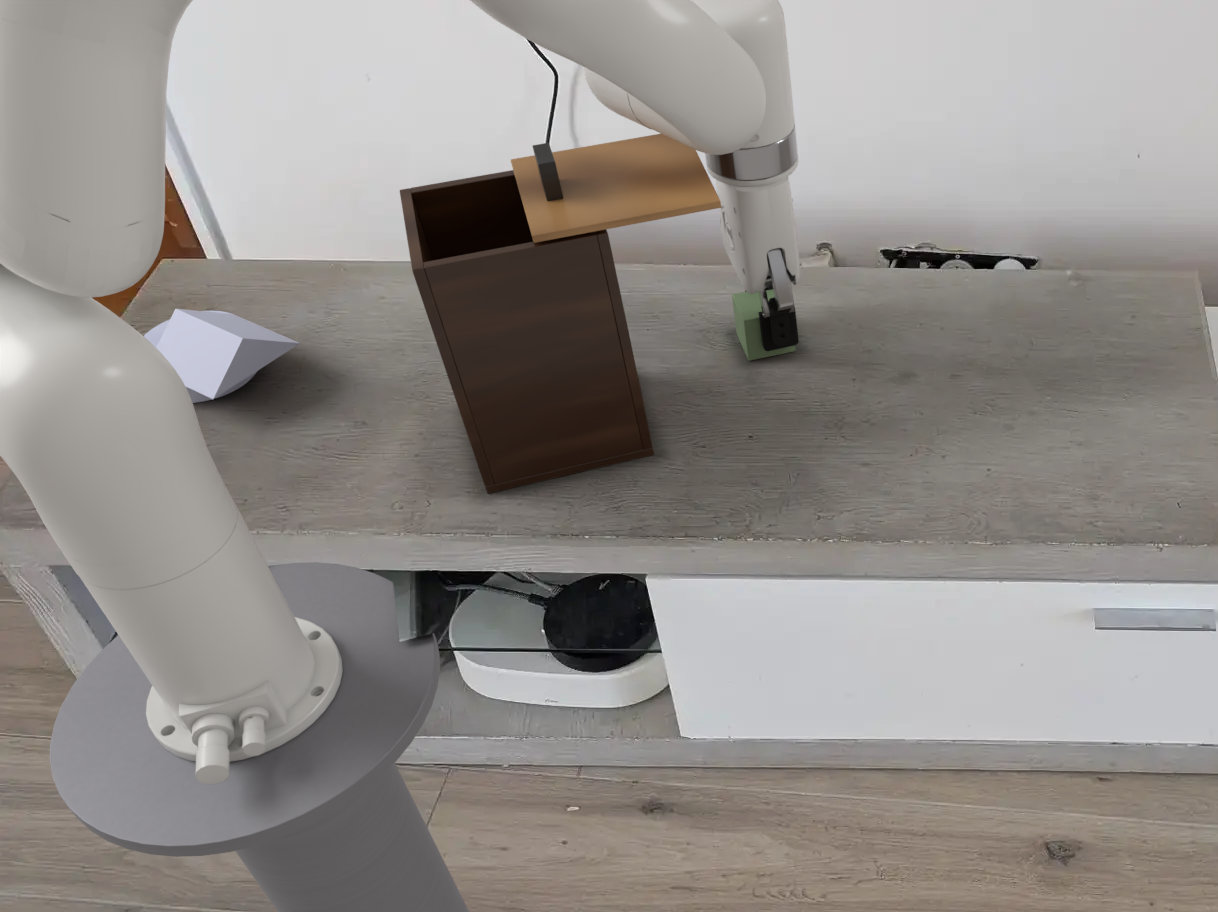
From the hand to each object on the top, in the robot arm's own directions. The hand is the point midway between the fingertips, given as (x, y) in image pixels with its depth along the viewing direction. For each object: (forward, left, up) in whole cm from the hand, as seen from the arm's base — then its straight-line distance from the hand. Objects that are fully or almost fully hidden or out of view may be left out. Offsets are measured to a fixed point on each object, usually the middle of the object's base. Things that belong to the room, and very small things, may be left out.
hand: (773, 328), depth 121 cm
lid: (-6, +12, +20) cm, 24 cm away
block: (0, +1, -1) cm, 2 cm away
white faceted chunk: (+12, +47, -2) cm, 49 cm away
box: (-6, +20, -1) cm, 21 cm away
